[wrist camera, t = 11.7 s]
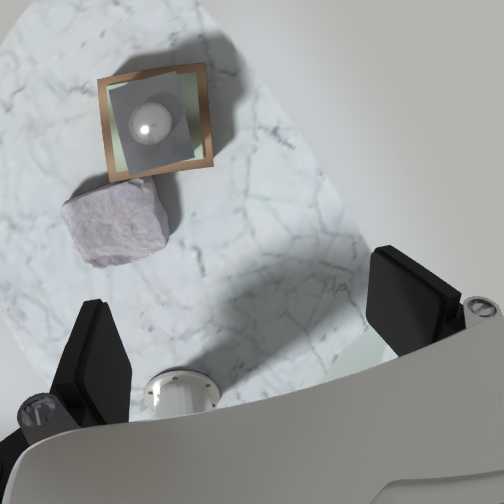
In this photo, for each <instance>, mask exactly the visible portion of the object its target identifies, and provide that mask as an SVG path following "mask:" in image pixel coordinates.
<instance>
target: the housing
mask: <svg viewBox="0 0 504 504" xmlns="http://www.w3.org/2000/svg"><path fill="white" fill-rule="evenodd" d="M108 91H109V96H110V100H111V105H112V109H113V113H114V118H115V122H116V126H117V130H118V134H119V138H120V142H121V146H122V150H123V153H124V157H125V161H126V164H127V168H128V172H129V175H130V176H132V175H135V174H138V173H141V172H145V171H148V170H152V169H155V168H159V167H162V166H166V165H169V164H173V163H177V162H181V161H184V160H188V159H192V158H195V154H194V150H193V146H192V141H191V137H190V133H189V128H188V124H187V119H186V115H185V110H184V106H183V101H182V97H181V92H180V87H179V83H178V78H177V73H176V71H173V72H169V73H165V74H161V75H158V76H154V77H150V78H147V79H143V80H140V81H136V82H133V83H130V84H126V85H123V86H120V87H117V88H114V89H111V90H108Z"/></svg>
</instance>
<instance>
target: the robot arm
mask: <svg viewBox="0 0 504 504" xmlns="http://www.w3.org/2000/svg"><path fill="white" fill-rule="evenodd" d="M460 298H461V293H460V292H459V291H457V290H456V289H455V288H453V287H452V286H451V285H449V284H447V283H446V282H445V281H443V280H442V279H440V278H439V277H438V276H436V275H435V274H433V273H432V272H430V271H429V270H427V269H426V268H424V267H423V266H422V265H420V264H419V263H417V262H416V261H414V260H413V259H411V258H409V257H408V256H406V255H405V254H404V253H402V252H400V251H399V250H397V249H396V248H394V247H393V246H391V245H387V246H382V247H378V248H376V249H375V250H374V252H373V253H372V254H371V259H370V273H369V285H368V296H367V307H366V319H367V321H368V323H369V324H370V325H371V326H372V327H373V328H374V329H375V331H376V332H377V333H378V334H379V335H380V336H381V337H382V338H383V339H384V340H385V342H386V343H387V344H388V345H389V346H390V347H391V348H392V349H393V351H394V352H395V353H396V354H397V355H398V356H399V357H398V358H396V359H393V360H390V361H388V362H385V363H382V364H380V365H377V366H374V367H371V368H369V369H366V370H363V371H360V372H357V373H354V374H351V375H348V376H345V377H342V378H339V379H335V380H332V381H329V382H326V383H322V384H319V385H316V386H312V387H309V388H305V389H302V390H298V391H294V392H290V393H287V394H283V395H279V396H275V397H271V398H267V399H262V400H258V401H254V402H249V403H245V404H240V405H235V406H230V407H225V408H220V409H215V408H216V407H217V405H218V403H219V399H220V394H219V390H218V387H217V385H216V384H215V383H214V381H213V380H211V379H210V378H209V377H207V376H205V375H203V374H201V373H197V372H193V371H185V370H178V371H171V372H166V373H163V374H161V375H158V376H157V377H155V378H154V379H152V380H151V381H150V382H149V384H148V385H147V387H146V390H145V402H146V404H147V406H148V407H149V408H150V410H151V411H153V412H154V419H150V420H142V421H134V422H129V406H130V392H131V380H132V368H131V364H130V361H129V359H128V356H127V354H126V351H125V349H124V346H123V344H122V341H121V339H120V336H119V333H118V331H117V328H116V325H115V322H114V320H113V317H112V314H111V311H110V308H109V306H108V304H107V302H104V303H103V302H102V300H101V299H95V300H89V301H84V303H83V305H82V307H81V310H80V312H79V314H78V317H77V319H76V322H75V324H74V327H73V329H72V332H71V335H70V337H69V340H68V342H67V344H66V346H65V348H64V351H63V354H62V357H61V359H60V362H59V365H58V368H57V371H56V374H55V377H54V380H53V383H52V386H51V389H50V392H49V393H39V394H35V395H33V396H31V397H29V398H28V399H27V400H25V401H24V402H23V404H22V405H21V406H20V408H19V410H18V413H17V420H18V424H19V426H20V428H19V429H17V430H16V431H15V432H13V433H12V434H11V435H9V436H8V437H6V438H5V439H4V440H2V441H1V442H0V504H504V316H502V313H501V310H500V308H499V306H498V305H497V304H496V303H495V302H493V301H492V300H490V299H488V298H485V297H480V296H473V297H469V298H467V299H466V300H465V301H464V303H463V305H462V304H461V303H459V302H460ZM214 409H215V410H214Z"/></svg>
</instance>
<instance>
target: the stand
mask: <svg viewBox="0 0 504 504" xmlns="http://www.w3.org/2000/svg"><path fill="white" fill-rule="evenodd" d="M173 71H176V73H177V78H178V83H179V87H180V92H181V97H182V101H183V106H184V110H185V115H186V119H187V124H188V128H189V133H190V137H191V141H192V146H193V150H194V154H195V158H192V159H188V160H184V161H181V162H177V163H173V164H169V165H166V166H162V167H159V168H155V169H152V170H148V171H145V172H141V173H138V174H135V175H132V176H130V175H129V172H128V168H127V164H126V161H125V157H124V153H123V150H122V146H121V142H120V138H119V134H118V130H117V126H116V122H115V118H114V113H113V109H112V105H111V100H110V96H109V91H108V90H111V89H114V88H117V87H120V86H123V85H126V84H130V83H133V82H136V81H140V80H143V79H147V78H150V77H154V76H158V75H161V74H165V73H169V72H173ZM97 84H98V96H99V107H100V116H101V125H102V133H103V141H104V149H105V156H106V162H107V169H108V175H109V181H110V183H111V182H116V181H121V180H127V179H133V178H138V177H144V176H151V175H157V174H163V173H170V172H177V171H184V170H191V169H199V168H206V167H214V163H213V152H212V140H211V129H210V117H209V104H208V91H207V78H206V64H205V63H196V64H186V65H177V66H169V67H162V68H155V69H149V70H143V71H137V72H131V73H126V74H121V75H116V76H111V77H106V78H102V79H97Z"/></svg>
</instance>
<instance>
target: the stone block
mask: <svg viewBox="0 0 504 504" xmlns="http://www.w3.org/2000/svg"><path fill="white" fill-rule="evenodd" d="M61 215H62V218H63V220H64V221H65V224H66V226H67V228H68V230H69V232H70V234H71V237H72V239H73V241H74V244H75V247H76V248H77V250H78V252H79V254H80V256H81V258H82V259H83V260H84V262H85V263H87V264H91V265H92V267H94V268H99V269H104V268H106V267H107V266H110V265H114V266H118V265H123V264H127V263H130V262H132V261H137V260H141V259H143V258H145V257H147V256H148V255H149V254H153V253H155V252H157V251H159V250H161V249H163V248H165V247H166V245H167V243H168V240H169V236H170V230H169V224H168V215H167V212H166V210H165V208H164V206H163V203H162V202H161V201H160V199H159V197H158V194H157V189H156V185H155V182H154V179H153V177H152V175H151V176H144V177H138V178H133V179H127V180H121V181H116V182H112V183H110V184H107V185H104V186H102V187H99V188H96V189H94V190H91V191H89V192H86V193H83V194H81V195H78V196H76V197H73V198H71V199H69V200H67V201H66V202H65V203H64V204H63V206H62V208H61Z"/></svg>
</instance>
